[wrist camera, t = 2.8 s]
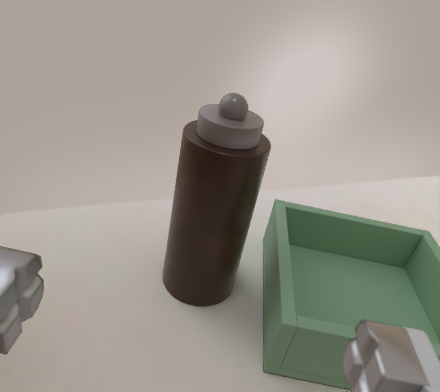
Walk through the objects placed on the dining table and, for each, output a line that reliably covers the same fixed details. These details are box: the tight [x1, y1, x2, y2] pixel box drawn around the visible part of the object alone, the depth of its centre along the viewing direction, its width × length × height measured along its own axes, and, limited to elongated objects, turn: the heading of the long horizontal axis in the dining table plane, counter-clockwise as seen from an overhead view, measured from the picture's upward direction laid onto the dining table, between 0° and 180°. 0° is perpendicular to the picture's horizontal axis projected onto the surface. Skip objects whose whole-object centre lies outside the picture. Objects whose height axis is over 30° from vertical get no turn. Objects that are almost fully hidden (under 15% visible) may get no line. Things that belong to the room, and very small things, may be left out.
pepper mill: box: [163, 93, 271, 306], centre depth 24 cm, size 5×5×13 cm
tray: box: [263, 199, 440, 390], centre depth 26 cm, size 13×13×4 cm
